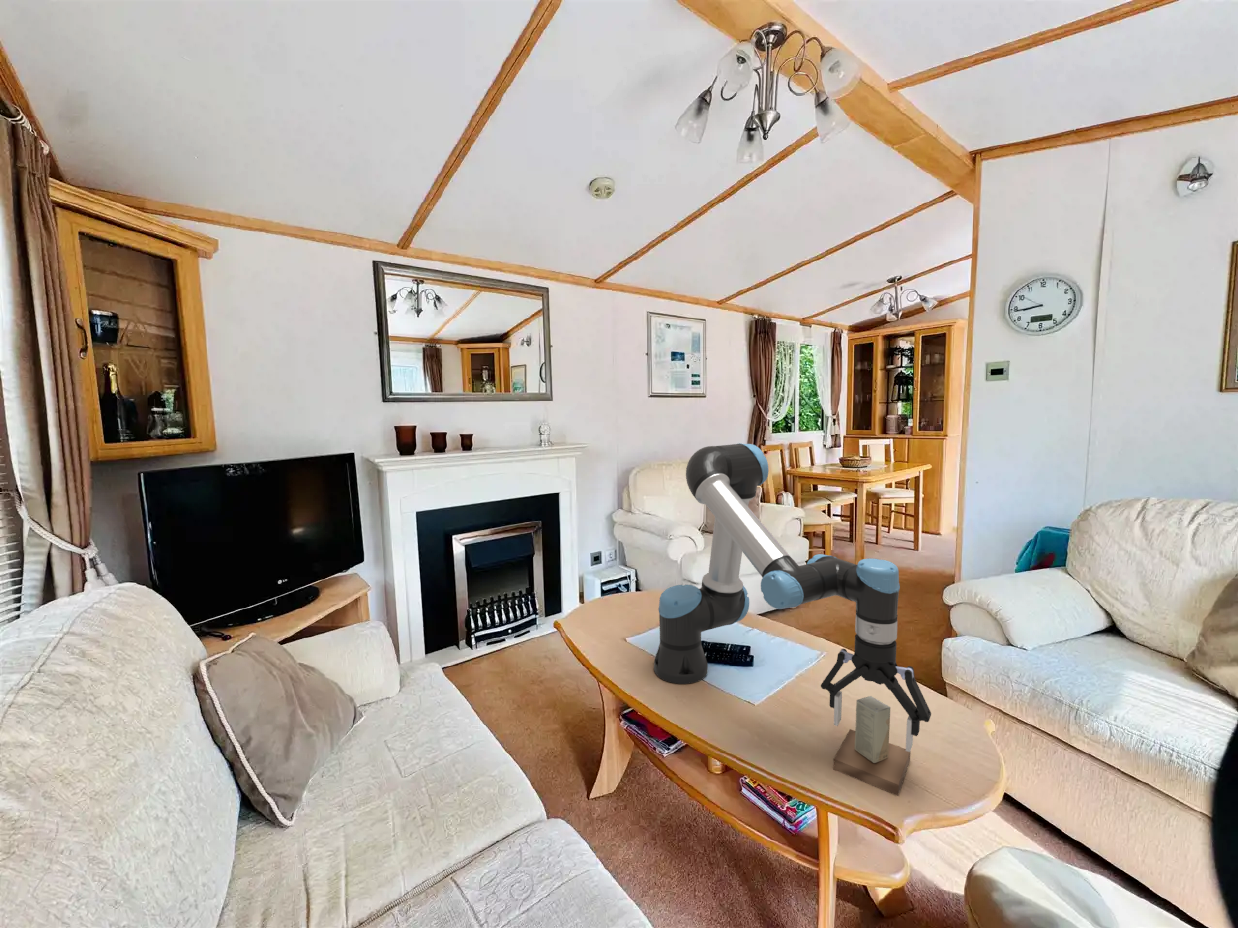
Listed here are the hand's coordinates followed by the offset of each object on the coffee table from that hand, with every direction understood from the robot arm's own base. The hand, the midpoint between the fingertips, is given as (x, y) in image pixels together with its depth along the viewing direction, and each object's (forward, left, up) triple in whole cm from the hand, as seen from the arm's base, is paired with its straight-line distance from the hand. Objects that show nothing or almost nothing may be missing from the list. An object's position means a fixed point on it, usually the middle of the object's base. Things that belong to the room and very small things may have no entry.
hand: (871, 734), depth 107 cm
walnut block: (0, 0, -7) cm, 7 cm away
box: (0, 0, -4) cm, 5 cm away
